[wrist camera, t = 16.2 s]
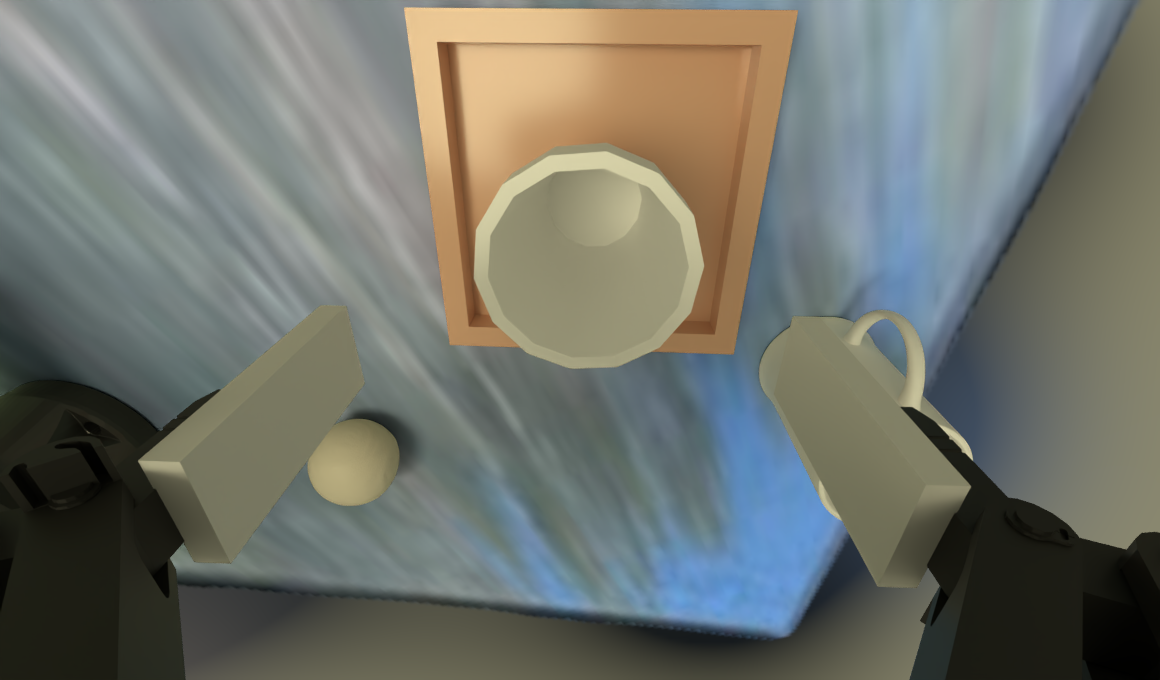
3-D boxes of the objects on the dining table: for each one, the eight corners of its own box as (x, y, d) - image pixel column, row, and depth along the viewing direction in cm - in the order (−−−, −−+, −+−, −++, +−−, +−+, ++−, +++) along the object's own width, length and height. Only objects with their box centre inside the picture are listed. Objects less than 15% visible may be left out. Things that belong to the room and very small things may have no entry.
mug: (801, 263, 34) (887, 351, 24) (918, 287, 34) (1054, 383, 24) (742, 399, 40) (790, 518, 29) (843, 418, 40) (926, 542, 30)
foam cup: (626, 87, 28) (639, 99, 17) (692, 225, 32) (739, 311, 21) (493, 171, 31) (426, 231, 20) (567, 290, 35) (548, 398, 23)
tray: (724, 334, 37) (733, 354, 34) (460, 325, 38) (449, 344, 35) (779, 15, 27) (798, 10, 25) (423, 13, 28) (404, 7, 25)
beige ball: (337, 461, 45) (297, 519, 39) (331, 397, 42) (285, 451, 36) (410, 473, 46) (381, 533, 40) (410, 411, 42) (378, 466, 36)
